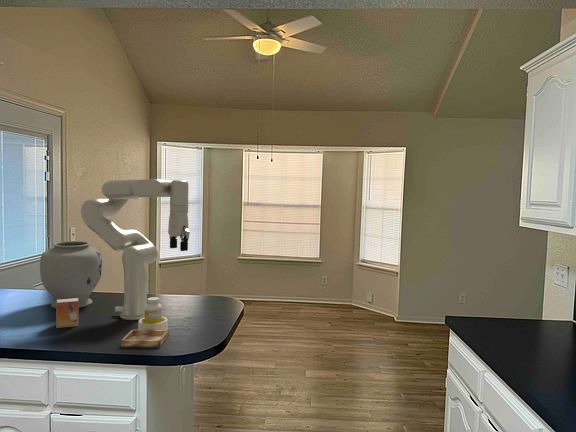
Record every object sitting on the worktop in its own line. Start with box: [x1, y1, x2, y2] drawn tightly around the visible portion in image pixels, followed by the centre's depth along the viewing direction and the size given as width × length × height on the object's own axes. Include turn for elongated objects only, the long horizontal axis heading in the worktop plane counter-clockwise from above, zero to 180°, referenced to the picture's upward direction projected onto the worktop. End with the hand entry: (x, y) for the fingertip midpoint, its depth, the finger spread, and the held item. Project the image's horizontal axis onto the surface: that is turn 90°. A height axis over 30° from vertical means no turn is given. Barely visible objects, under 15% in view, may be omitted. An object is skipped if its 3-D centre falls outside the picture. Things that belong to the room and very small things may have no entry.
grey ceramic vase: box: [39, 240, 103, 309], centre depth 202 cm, size 27×27×30 cm
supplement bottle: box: [145, 296, 163, 324], centre depth 169 cm, size 7×7×13 cm
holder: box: [137, 316, 169, 330], centre depth 170 cm, size 11×11×4 cm
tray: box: [120, 328, 170, 349], centre depth 157 cm, size 14×12×2 cm
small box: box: [55, 298, 79, 329], centre depth 172 cm, size 8×6×10 cm
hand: (178, 249), depth 180 cm, fingers open, 9 cm apart
